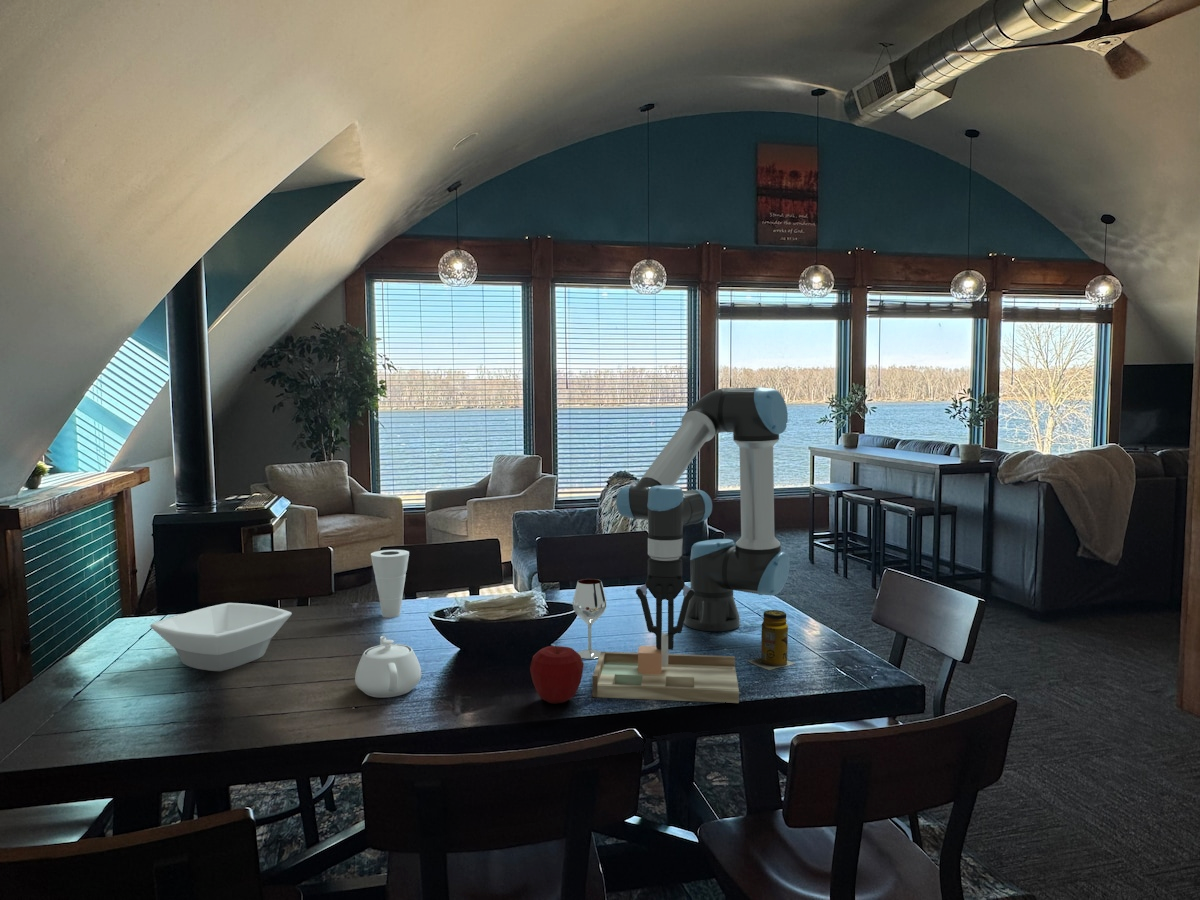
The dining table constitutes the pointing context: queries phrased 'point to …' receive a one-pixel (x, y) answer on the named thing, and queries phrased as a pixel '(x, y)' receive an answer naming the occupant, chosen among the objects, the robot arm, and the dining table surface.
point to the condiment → (773, 641)
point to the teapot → (388, 670)
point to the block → (649, 660)
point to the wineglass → (589, 608)
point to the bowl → (222, 634)
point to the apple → (556, 673)
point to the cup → (390, 579)
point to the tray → (667, 678)
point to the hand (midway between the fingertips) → (664, 663)
